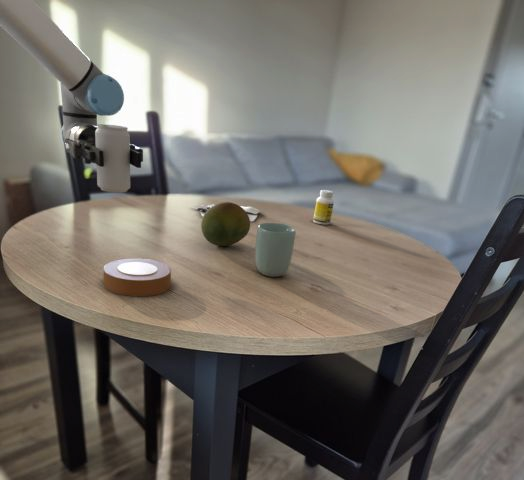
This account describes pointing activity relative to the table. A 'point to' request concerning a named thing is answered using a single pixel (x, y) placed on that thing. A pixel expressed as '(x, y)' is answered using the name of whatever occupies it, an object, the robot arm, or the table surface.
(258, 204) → the table surface
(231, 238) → the fruit
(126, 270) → the brown round flat disc
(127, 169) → the beverage can
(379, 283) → the table surface
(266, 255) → the cup
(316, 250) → the table surface
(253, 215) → the cloth
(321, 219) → the supplement bottle
